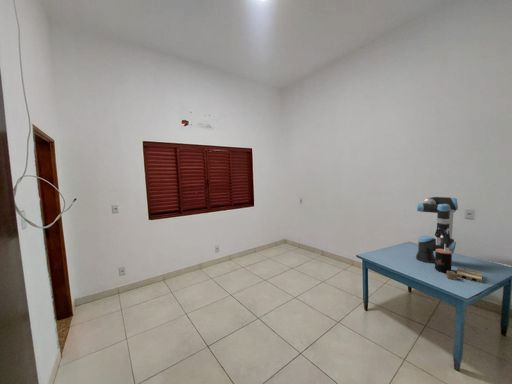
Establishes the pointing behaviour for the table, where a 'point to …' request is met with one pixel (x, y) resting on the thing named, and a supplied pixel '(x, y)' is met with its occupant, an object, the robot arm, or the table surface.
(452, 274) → the cargo block
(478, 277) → the pallet dock
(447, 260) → the coffee jar
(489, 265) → the table surface
